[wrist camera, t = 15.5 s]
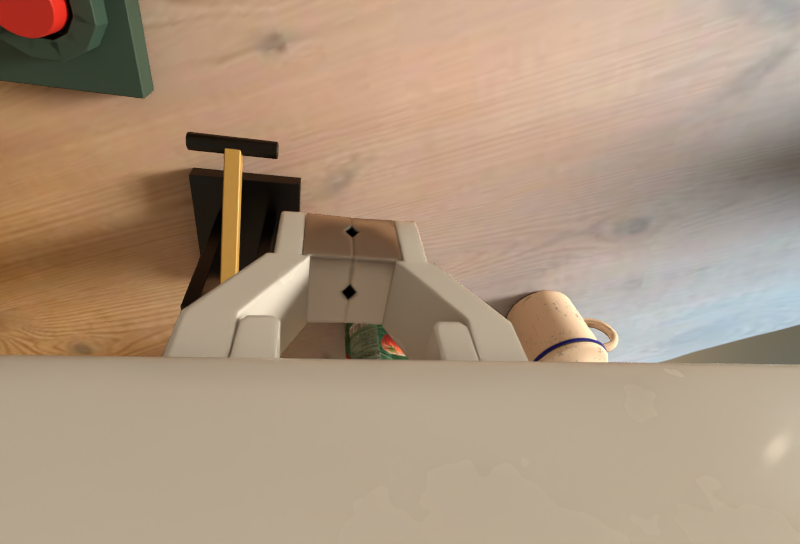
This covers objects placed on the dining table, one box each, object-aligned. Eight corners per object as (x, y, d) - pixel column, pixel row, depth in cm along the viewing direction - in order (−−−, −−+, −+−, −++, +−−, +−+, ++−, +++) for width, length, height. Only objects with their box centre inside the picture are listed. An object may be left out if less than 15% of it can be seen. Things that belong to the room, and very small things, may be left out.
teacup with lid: (501, 344, 56) (535, 421, 47) (504, 294, 50) (544, 371, 41) (586, 328, 56) (636, 401, 47) (599, 277, 51) (659, 350, 42)
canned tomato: (421, 315, 50) (440, 390, 42) (386, 354, 54) (397, 431, 45) (365, 292, 47) (374, 370, 38) (332, 335, 50) (333, 415, 42)
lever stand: (192, 167, 35) (135, 264, 25) (300, 177, 37) (290, 271, 26) (206, 269, 42) (165, 380, 31) (297, 273, 44) (289, 379, 33)
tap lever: (193, 135, 30) (182, 127, 27) (279, 145, 31) (276, 138, 29) (188, 327, 31) (177, 334, 28) (271, 328, 32) (268, 336, 30)
